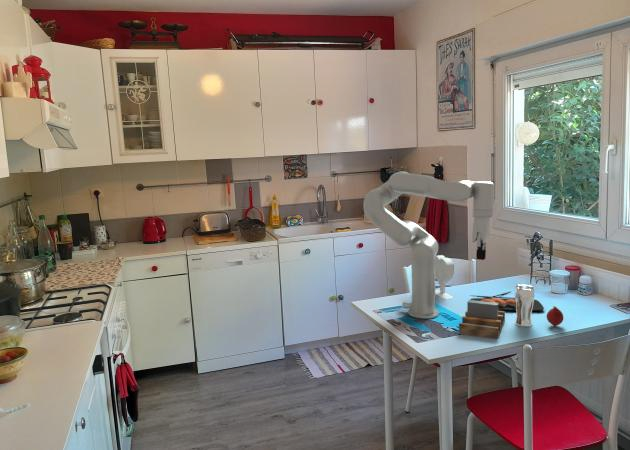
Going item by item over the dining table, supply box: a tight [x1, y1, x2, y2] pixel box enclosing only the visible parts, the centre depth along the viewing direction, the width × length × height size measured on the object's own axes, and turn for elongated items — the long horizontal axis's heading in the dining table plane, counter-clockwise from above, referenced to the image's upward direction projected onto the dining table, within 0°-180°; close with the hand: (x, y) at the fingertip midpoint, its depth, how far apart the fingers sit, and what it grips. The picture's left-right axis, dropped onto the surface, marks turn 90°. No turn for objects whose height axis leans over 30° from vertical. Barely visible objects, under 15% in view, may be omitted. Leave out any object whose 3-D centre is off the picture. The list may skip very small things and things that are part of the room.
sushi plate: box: [469, 291, 545, 312], centre depth 231 cm, size 29×30×4 cm
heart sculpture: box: [434, 254, 455, 300], centre depth 242 cm, size 16×5×18 cm, turn 13°
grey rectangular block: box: [466, 299, 499, 320], centre depth 200 cm, size 11×3×9 cm, turn 64°
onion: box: [546, 305, 564, 327], centre depth 199 cm, size 6×6×8 cm
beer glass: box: [514, 284, 535, 328], centre depth 201 cm, size 7×7×15 cm
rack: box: [458, 310, 506, 340], centre depth 201 cm, size 14×20×4 cm
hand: (480, 259), depth 206 cm, fingers closed
